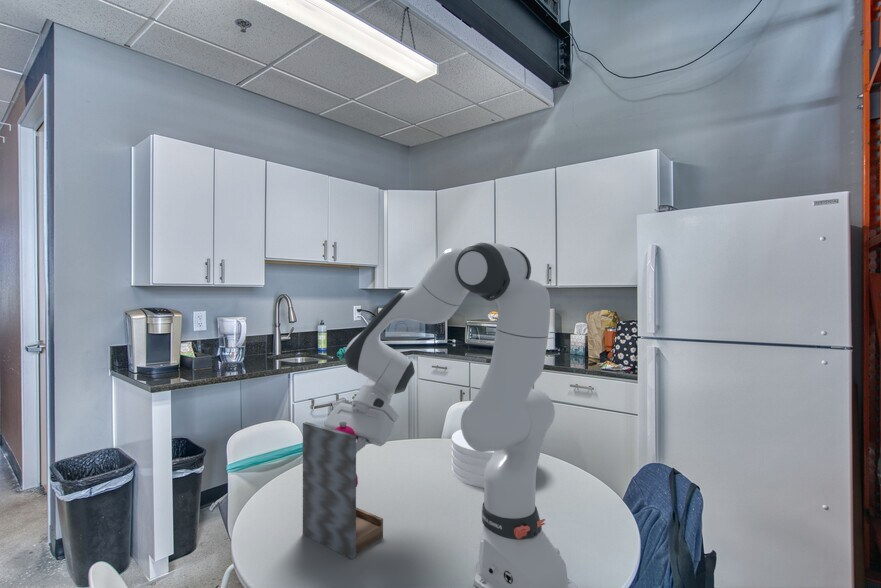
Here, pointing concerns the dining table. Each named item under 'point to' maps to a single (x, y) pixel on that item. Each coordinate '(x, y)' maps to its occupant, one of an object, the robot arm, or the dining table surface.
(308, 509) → the ledge shelf
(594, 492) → the dining table surface
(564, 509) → the dining table surface
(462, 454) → the plate stack
